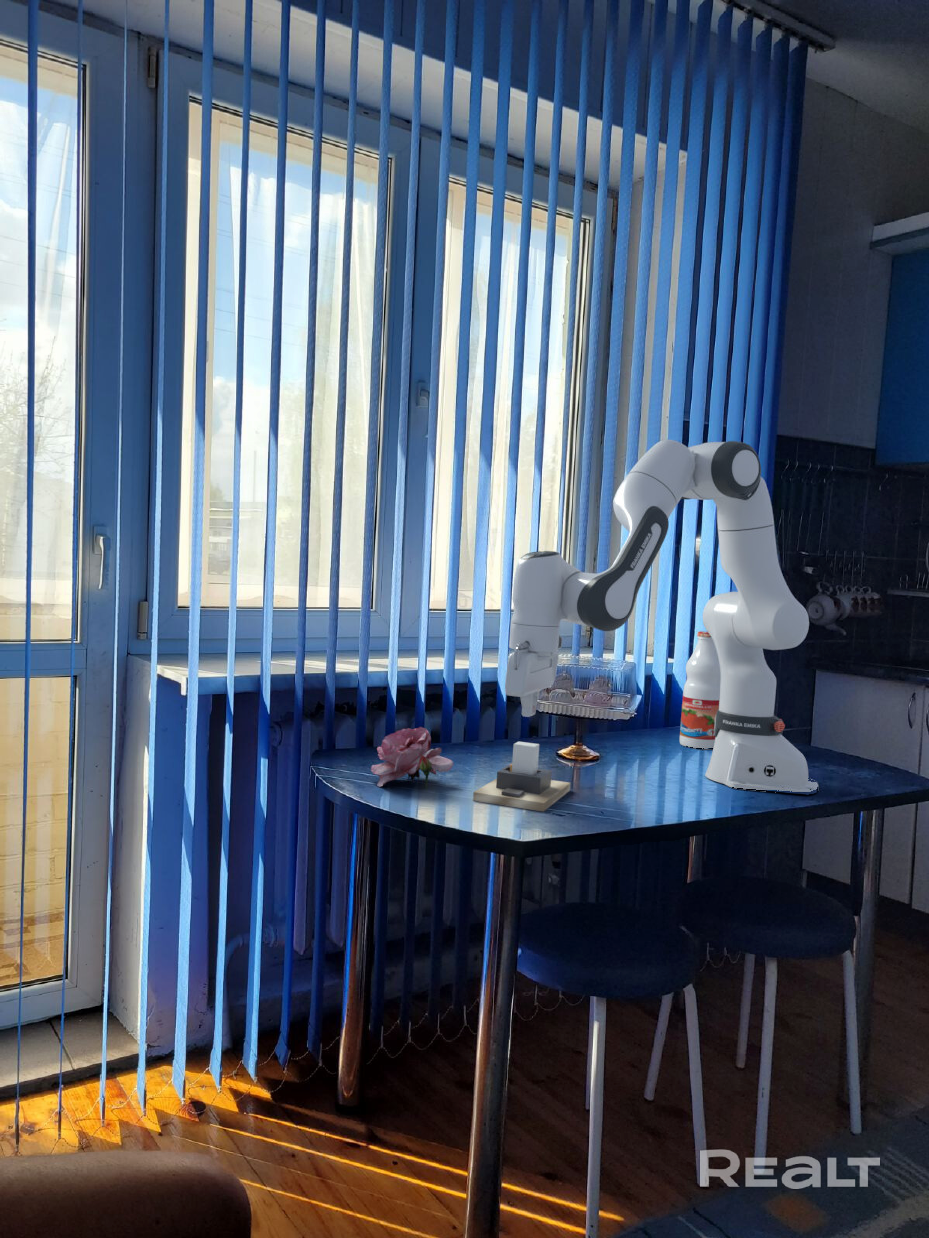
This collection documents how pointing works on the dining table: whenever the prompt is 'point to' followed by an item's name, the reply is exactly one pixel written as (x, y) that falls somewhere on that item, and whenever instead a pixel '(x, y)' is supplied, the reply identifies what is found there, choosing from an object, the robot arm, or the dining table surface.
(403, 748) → the flower
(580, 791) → the dining table surface
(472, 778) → the dining table surface
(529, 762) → the plug
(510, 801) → the board
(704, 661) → the fruit juice
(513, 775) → the box
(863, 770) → the dining table surface
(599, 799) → the dining table surface
